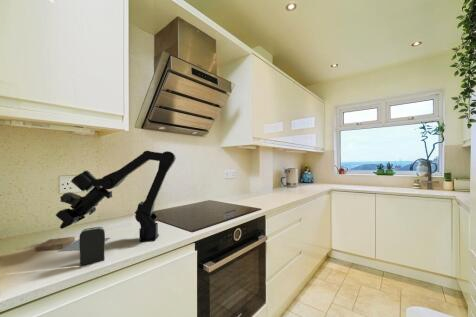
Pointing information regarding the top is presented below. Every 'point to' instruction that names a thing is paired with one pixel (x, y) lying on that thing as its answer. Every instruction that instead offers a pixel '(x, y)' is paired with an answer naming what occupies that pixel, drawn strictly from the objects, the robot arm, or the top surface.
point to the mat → (74, 246)
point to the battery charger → (92, 246)
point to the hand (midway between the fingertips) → (61, 227)
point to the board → (55, 244)
